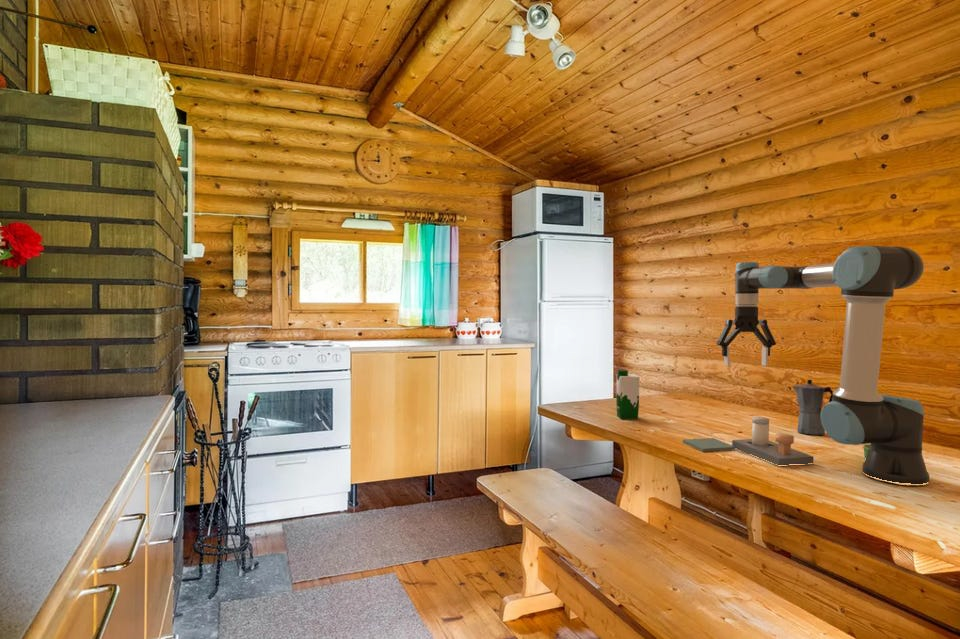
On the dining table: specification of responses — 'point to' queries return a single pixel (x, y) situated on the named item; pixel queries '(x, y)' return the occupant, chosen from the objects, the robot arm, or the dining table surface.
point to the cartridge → (760, 431)
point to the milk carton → (627, 395)
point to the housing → (772, 453)
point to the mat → (708, 444)
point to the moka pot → (811, 407)
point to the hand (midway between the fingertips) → (745, 365)
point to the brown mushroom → (784, 443)
